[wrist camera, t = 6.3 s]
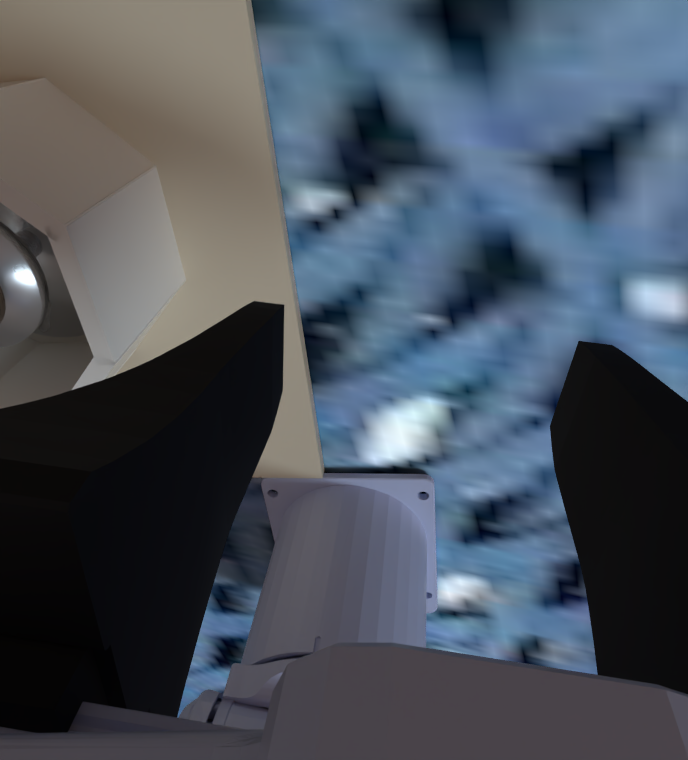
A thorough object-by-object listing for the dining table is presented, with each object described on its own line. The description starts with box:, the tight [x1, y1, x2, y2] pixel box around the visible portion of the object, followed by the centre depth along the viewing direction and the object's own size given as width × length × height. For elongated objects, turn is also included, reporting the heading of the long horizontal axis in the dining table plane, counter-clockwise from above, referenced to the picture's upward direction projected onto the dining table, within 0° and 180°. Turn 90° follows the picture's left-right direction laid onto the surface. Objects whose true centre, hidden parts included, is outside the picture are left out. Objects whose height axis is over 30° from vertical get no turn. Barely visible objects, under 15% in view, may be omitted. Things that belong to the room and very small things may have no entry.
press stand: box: [0, 0, 325, 478], centre depth 20 cm, size 24×18×7 cm
